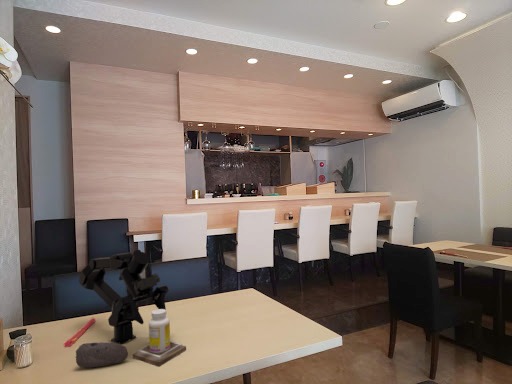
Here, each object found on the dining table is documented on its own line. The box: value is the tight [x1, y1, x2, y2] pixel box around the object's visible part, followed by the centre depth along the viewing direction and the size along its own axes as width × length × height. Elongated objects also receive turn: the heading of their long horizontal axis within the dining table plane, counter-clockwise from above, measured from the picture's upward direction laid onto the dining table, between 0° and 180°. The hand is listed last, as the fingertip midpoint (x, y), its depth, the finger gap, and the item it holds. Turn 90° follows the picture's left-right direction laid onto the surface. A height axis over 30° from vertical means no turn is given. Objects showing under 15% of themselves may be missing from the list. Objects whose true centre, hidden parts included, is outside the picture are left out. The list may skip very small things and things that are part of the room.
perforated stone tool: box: [75, 341, 129, 368], centre depth 101 cm, size 15×5×7 cm, turn 98°
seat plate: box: [132, 340, 187, 367], centre depth 107 cm, size 12×12×2 cm
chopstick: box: [63, 317, 96, 348], centre depth 126 cm, size 24×2×5 cm
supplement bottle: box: [148, 308, 171, 354], centre depth 107 cm, size 7×7×13 cm
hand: (154, 319), depth 108 cm, fingers open, 9 cm apart
